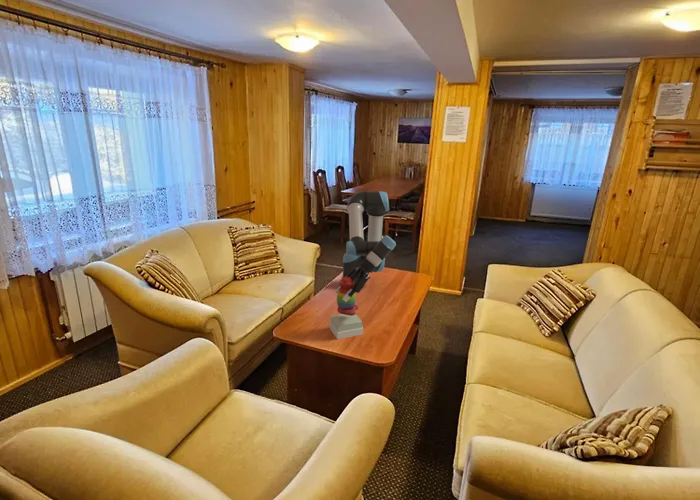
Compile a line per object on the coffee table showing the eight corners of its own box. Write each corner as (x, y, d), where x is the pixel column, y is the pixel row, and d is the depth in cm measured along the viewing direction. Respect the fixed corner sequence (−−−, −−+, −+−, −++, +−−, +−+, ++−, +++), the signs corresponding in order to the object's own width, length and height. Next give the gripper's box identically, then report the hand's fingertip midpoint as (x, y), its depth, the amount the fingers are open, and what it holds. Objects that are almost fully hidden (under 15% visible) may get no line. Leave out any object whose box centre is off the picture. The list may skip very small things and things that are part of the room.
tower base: (329, 328, 195) (329, 315, 193) (354, 323, 200) (354, 311, 198) (337, 339, 185) (337, 326, 183) (363, 334, 190) (363, 321, 188)
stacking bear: (354, 316, 182) (354, 281, 178) (334, 314, 184) (334, 280, 180) (359, 307, 193) (359, 274, 188) (339, 305, 195) (339, 272, 190)
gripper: (385, 274, 179) (353, 309, 178) (366, 260, 198) (337, 292, 196) (375, 264, 175) (343, 301, 174) (357, 251, 194) (328, 284, 193)
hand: (340, 296), depth 185 cm, fingers closed on stacking bear, 9 cm apart
